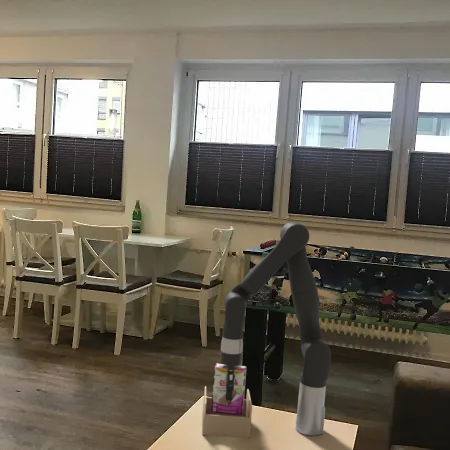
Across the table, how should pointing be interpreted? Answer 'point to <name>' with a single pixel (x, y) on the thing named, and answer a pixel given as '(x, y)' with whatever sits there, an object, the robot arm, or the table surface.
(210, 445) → the table surface
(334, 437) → the table surface
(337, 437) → the table surface
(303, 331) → the robot arm
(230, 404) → the candy bar box
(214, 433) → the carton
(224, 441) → the table surface
